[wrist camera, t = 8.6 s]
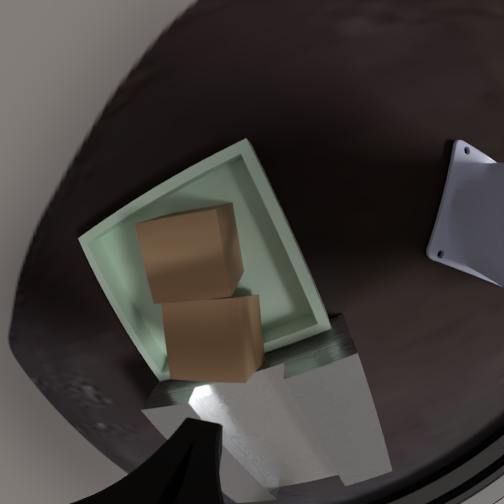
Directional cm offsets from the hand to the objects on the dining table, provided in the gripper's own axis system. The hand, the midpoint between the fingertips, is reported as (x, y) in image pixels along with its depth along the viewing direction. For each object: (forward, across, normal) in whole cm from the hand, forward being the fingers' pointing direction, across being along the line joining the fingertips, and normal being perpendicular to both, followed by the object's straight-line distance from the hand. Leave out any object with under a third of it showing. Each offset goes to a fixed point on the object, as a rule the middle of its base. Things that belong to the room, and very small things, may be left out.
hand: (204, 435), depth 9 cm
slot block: (+9, -4, +8) cm, 13 cm away
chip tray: (+9, +3, -3) cm, 10 cm away
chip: (+8, 0, 0) cm, 8 cm away
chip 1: (+7, +2, -4) cm, 8 cm away
